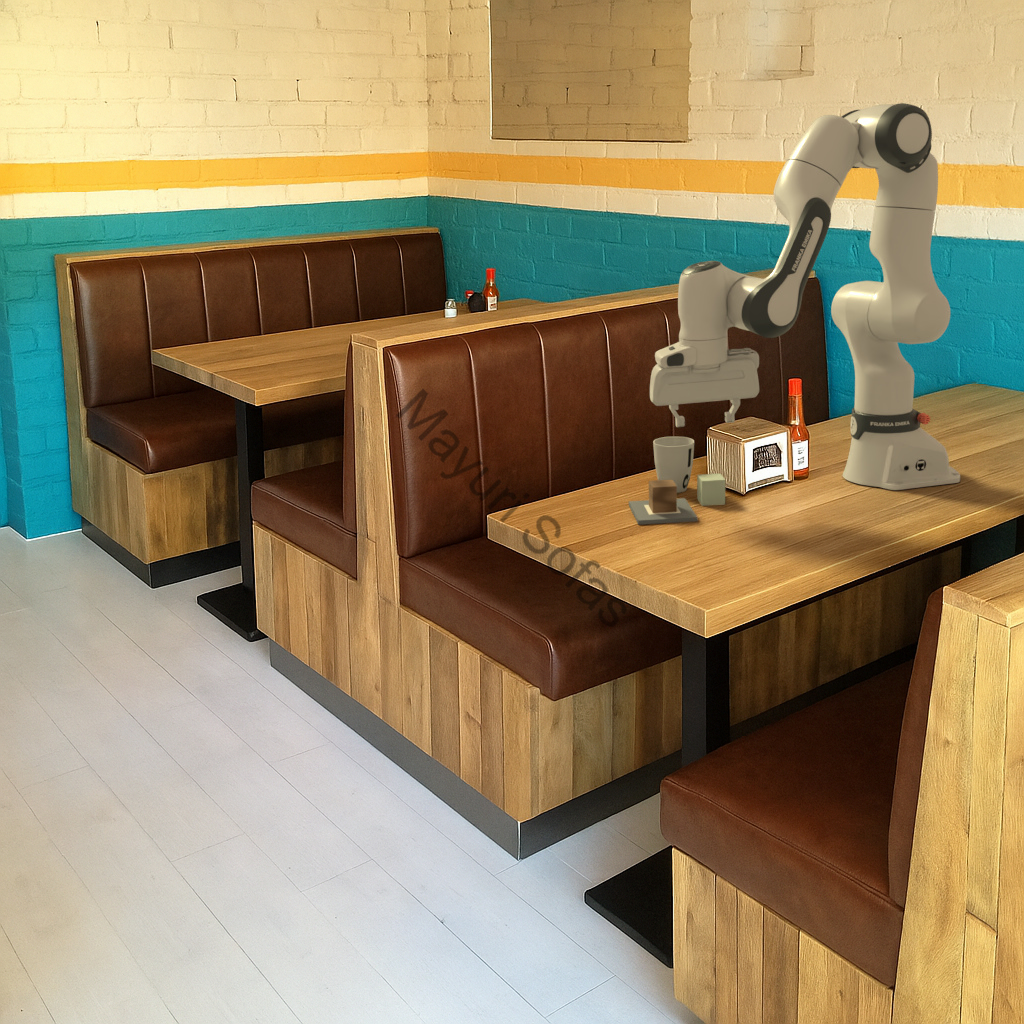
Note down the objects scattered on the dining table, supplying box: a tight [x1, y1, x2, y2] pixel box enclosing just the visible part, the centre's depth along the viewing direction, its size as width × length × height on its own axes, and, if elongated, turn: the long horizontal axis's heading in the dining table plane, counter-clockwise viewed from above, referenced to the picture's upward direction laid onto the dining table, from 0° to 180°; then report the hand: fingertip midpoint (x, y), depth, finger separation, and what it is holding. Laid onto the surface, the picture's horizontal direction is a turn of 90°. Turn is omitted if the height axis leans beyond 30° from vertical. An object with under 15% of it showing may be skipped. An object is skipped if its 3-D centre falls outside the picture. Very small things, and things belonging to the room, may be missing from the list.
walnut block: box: [648, 479, 678, 513], centre depth 213 cm, size 4×4×5 cm
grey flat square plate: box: [628, 497, 699, 525], centre depth 214 cm, size 11×12×1 cm
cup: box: [652, 436, 695, 494], centre depth 227 cm, size 8×8×10 cm
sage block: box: [696, 473, 726, 507], centre depth 219 cm, size 4×4×5 cm
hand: (704, 424), depth 214 cm, fingers open, 8 cm apart
